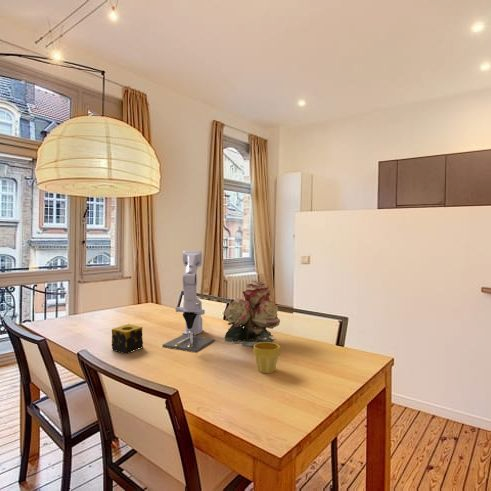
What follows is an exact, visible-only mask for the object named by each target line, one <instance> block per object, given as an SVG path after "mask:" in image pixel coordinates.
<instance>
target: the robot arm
mask: <svg viewBox="0 0 491 491" xmlns="http://www.w3.org/2000/svg"><path fill="white" fill-rule="evenodd" d="M202 256H203V252H202V251H201V250H183V251H182V262H183V265H184V274H183V275H182V288H183V289H182V290H183V305H182V306H177V307H175V312H176V313H182V318H184V319H183V320H185V331H183V332H181V333H182V334H181V335H183V334H185V335H188V331H194V336H198V335H199V334H201V333H202V332H204V331H205V330H204V329H203V317H202V316H203V315H205V313H206V310H205V309H203V305H202V301H201V299H199V298H198V297H197V292H198V291H197V286H198V275H197V274H198V273H197V271H198V268H199V267H201V266H202V262H203V257H202Z"/></svg>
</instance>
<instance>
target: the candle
mask: <svg viewBox="0 0 491 491" xmlns="http://www.w3.org/2000/svg"><path fill="white" fill-rule="evenodd" d="M143 344H144V341H143V326H139V325H135V324H130V323H128V324H124V325H121V326H117V327H115V328H112V329H111V350H112V349H113V350H112V351H114V350H117V351H120V352H119V353H121V352H123V353H122V354H125V353H127V354H129V353H128V352H130V353H132V352H131V351H133V350H135V351H137V350H136V349H138V348H141V347H142V348H144V345H143ZM142 348H141V349H142ZM138 350H139V349H138ZM117 351H116V352H117ZM133 352H134V351H133Z"/></svg>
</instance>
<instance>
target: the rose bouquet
mask: <svg viewBox="0 0 491 491" xmlns="http://www.w3.org/2000/svg"><path fill="white" fill-rule="evenodd" d="M266 284H267V282H266V281H263V280H261V281H257V280H251V281H250V282H248V283H246V288H247V289H246V290H243V291H242V295H243V298H244V299H242V298H239V297H238V298H235V299H234V300H232V302H231V303H230V305H227V307H226V308H225V309H224V311H223V314H222V315H223V316H225V317H226V319H227V320H228V324H227V325H228V326H230V327H229V328H228V330H227V331H226V332H225V335H224V343H225V342H226V343H229V344H239V345H241V346H243V347H254V345H255V344H256V343H260V342H271V343H274V341H276V340H277V338H274V334H272V332H271V331H269V330H267V329H270V330H271V329H272V330H273V329H274V328H275V327H278V326H280V322H281V320H280V318H279V316H278V311H279V307H278V306H277V305H276V304H275V303H274V302H273V301H271V300H270V296H271V290H270V289H269V287H268V286H266ZM272 338H273V339H272Z"/></svg>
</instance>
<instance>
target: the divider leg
mask: <svg viewBox="0 0 491 491" xmlns="http://www.w3.org/2000/svg"><path fill="white" fill-rule="evenodd" d="M187 335H188V336H190V343H191V345H193V336H195V335H194V331H188V334H187Z"/></svg>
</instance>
